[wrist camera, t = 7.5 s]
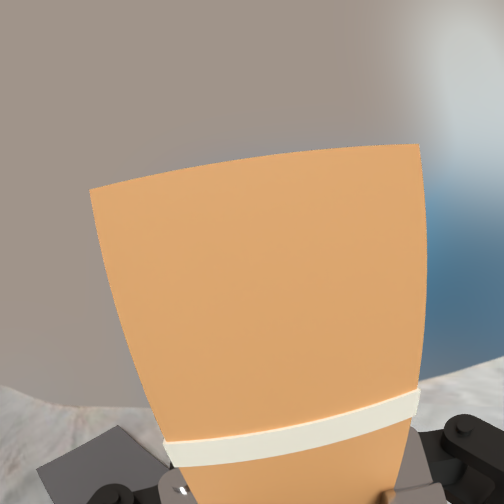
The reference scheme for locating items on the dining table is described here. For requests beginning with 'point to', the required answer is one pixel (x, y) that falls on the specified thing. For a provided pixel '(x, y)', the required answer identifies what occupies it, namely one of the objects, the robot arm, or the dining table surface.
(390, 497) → the robot arm
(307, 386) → the striped orange pillar
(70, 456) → the pad
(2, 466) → the dining table surface
